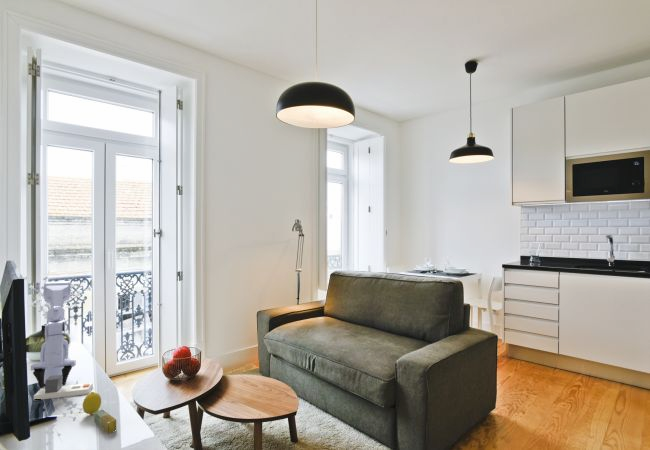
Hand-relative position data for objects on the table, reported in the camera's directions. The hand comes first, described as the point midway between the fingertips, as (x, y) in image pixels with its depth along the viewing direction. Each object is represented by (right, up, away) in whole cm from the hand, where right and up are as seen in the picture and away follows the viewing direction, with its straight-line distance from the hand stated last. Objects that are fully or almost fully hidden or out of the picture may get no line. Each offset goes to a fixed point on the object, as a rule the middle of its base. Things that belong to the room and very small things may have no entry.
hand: (52, 386), depth 143 cm
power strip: (+4, -5, +1) cm, 6 cm away
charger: (0, -3, 0) cm, 3 cm away
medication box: (+35, -3, -23) cm, 43 cm away
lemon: (+26, -4, -15) cm, 30 cm away
